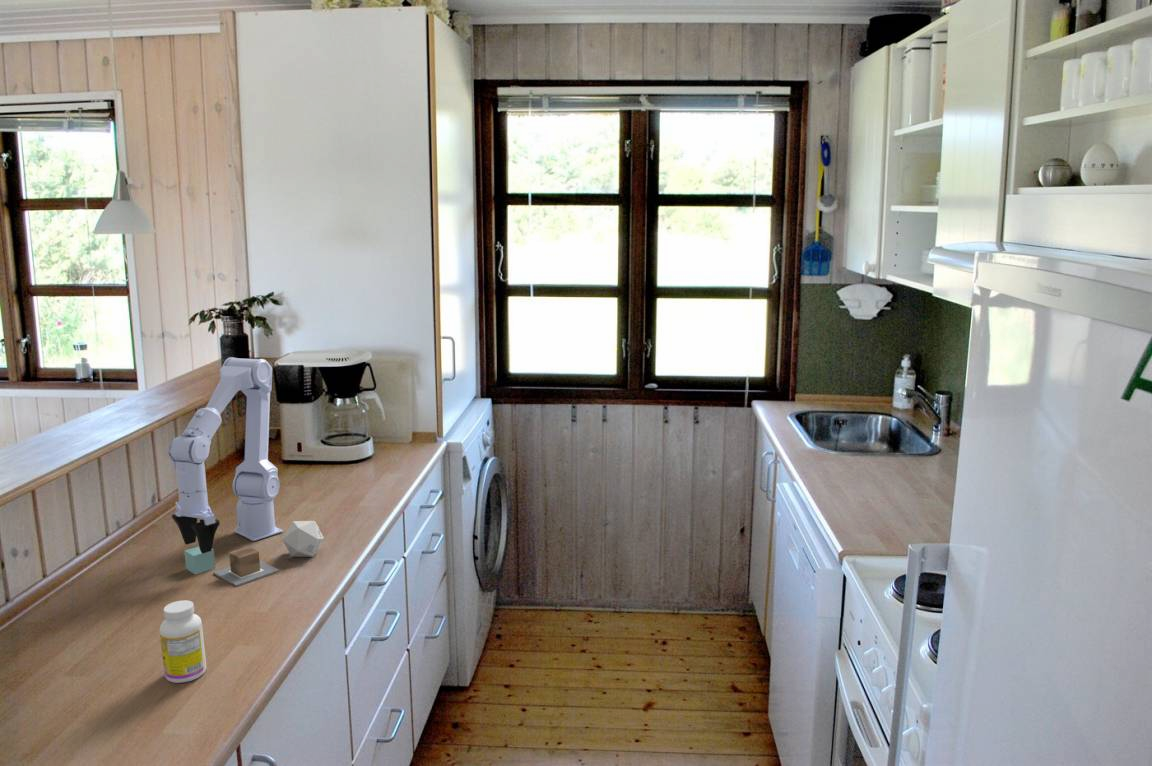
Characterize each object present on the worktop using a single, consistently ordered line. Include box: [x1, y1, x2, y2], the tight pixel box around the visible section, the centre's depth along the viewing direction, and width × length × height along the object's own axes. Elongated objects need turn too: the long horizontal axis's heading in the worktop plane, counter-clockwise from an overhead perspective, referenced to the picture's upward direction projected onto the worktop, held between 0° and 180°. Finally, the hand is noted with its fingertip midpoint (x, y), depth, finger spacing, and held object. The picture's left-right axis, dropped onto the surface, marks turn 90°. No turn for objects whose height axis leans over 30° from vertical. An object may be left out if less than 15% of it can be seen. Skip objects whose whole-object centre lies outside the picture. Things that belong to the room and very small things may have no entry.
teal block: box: [183, 545, 216, 575], centre depth 191 cm, size 4×4×4 cm
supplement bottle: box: [159, 599, 207, 684], centre depth 147 cm, size 7×7×13 cm
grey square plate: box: [213, 559, 280, 587], centre depth 189 cm, size 10×10×1 cm
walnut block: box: [228, 545, 261, 577], centre depth 188 cm, size 4×4×4 cm
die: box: [282, 520, 325, 558], centre depth 198 cm, size 8×9×10 cm
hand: (198, 547), depth 190 cm, fingers open, 7 cm apart
